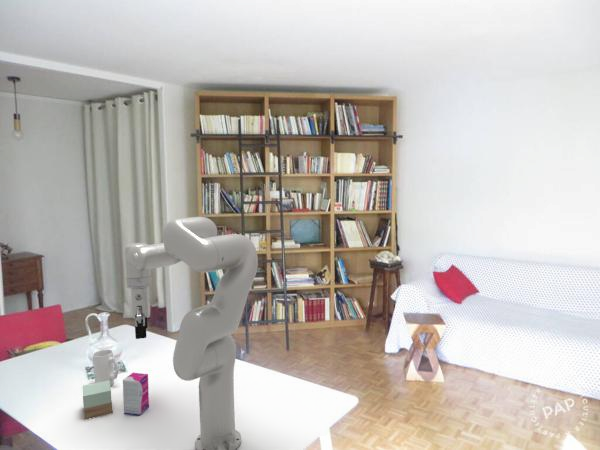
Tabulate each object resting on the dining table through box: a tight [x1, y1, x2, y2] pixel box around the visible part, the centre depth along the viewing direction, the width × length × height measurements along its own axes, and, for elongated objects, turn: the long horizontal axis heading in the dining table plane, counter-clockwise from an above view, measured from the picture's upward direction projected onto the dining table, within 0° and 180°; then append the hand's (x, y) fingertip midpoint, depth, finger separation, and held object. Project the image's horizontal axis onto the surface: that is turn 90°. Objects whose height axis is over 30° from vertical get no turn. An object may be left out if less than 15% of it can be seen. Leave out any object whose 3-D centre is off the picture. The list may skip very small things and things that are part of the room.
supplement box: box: [122, 372, 150, 417], centre depth 139 cm, size 6×6×12 cm
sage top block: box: [82, 380, 113, 409], centre depth 140 cm, size 8×8×4 cm
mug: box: [92, 348, 120, 387], centre depth 157 cm, size 10×7×12 cm, turn 70°
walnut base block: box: [83, 401, 113, 420], centre depth 140 cm, size 8×8×4 cm
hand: (141, 333), depth 141 cm, fingers open, 9 cm apart
